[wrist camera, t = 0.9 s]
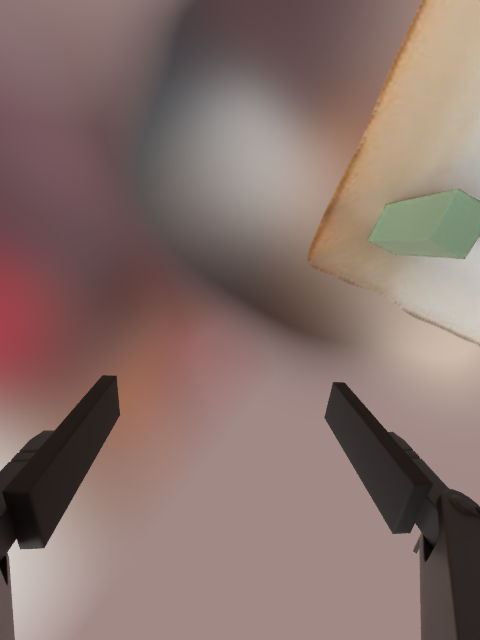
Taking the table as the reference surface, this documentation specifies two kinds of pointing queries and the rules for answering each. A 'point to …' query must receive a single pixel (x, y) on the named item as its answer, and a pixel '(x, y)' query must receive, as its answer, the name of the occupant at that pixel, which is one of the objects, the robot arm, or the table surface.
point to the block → (430, 225)
